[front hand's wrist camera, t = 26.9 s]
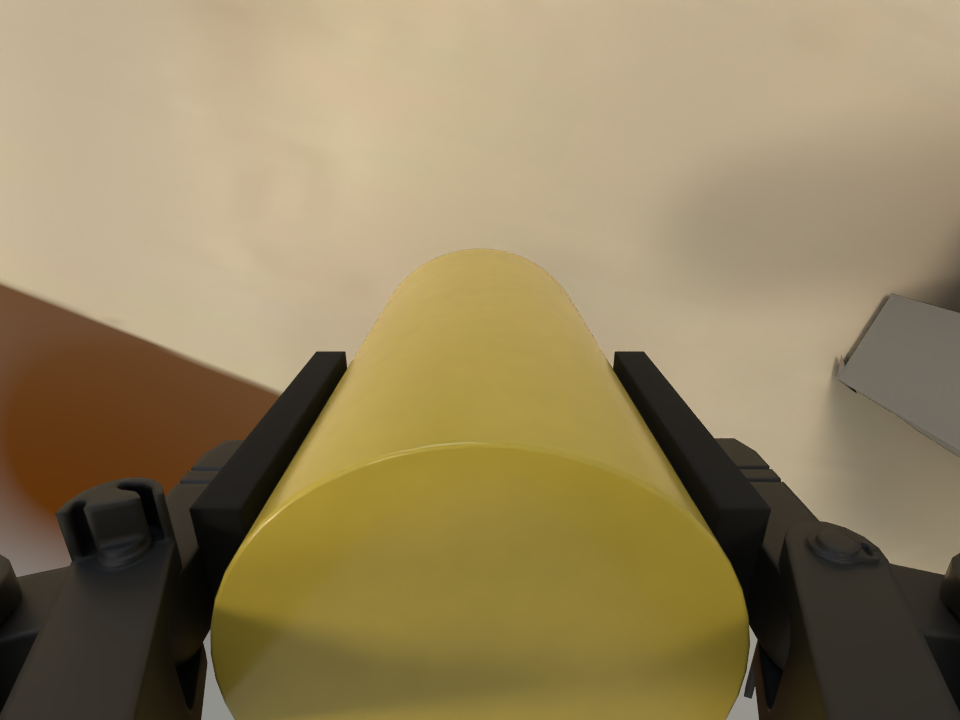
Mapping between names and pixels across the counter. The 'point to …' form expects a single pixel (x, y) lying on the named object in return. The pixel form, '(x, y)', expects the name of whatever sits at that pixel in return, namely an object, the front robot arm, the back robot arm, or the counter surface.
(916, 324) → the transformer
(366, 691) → the cylinder
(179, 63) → the counter surface
